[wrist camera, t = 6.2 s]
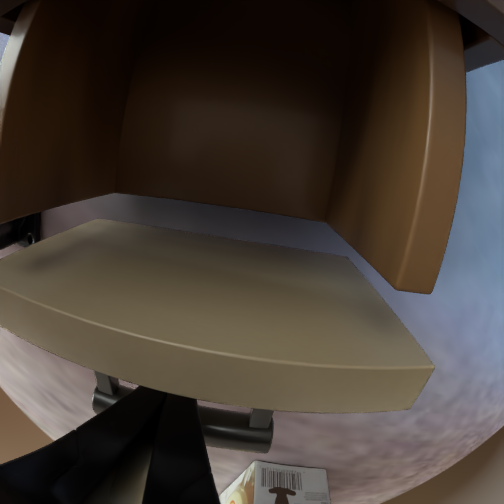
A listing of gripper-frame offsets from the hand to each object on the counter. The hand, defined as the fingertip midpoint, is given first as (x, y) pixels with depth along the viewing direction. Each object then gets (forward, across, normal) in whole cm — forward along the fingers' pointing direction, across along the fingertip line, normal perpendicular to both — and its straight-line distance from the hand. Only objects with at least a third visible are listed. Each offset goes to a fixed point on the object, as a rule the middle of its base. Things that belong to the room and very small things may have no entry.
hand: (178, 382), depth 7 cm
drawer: (+5, 0, -6) cm, 7 cm away
